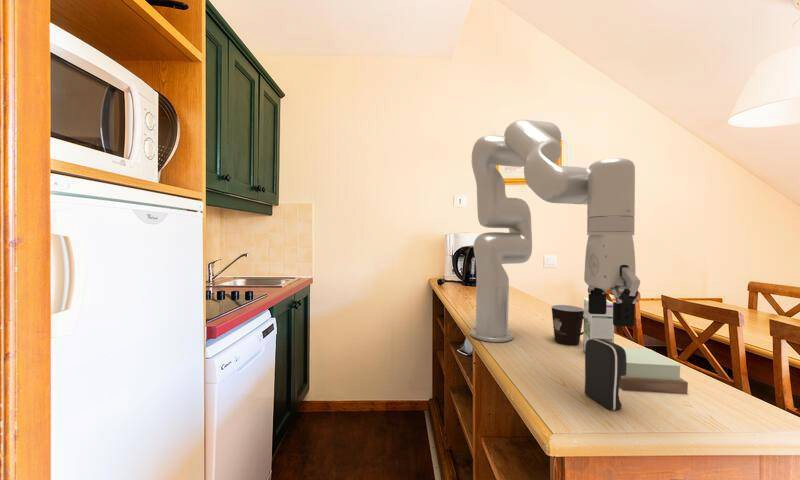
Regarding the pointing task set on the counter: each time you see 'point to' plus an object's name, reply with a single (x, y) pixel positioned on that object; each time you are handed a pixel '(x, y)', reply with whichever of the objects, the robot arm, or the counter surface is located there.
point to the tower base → (653, 385)
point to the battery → (604, 371)
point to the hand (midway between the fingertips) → (609, 319)
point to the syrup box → (598, 324)
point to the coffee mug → (567, 324)
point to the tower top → (650, 365)
